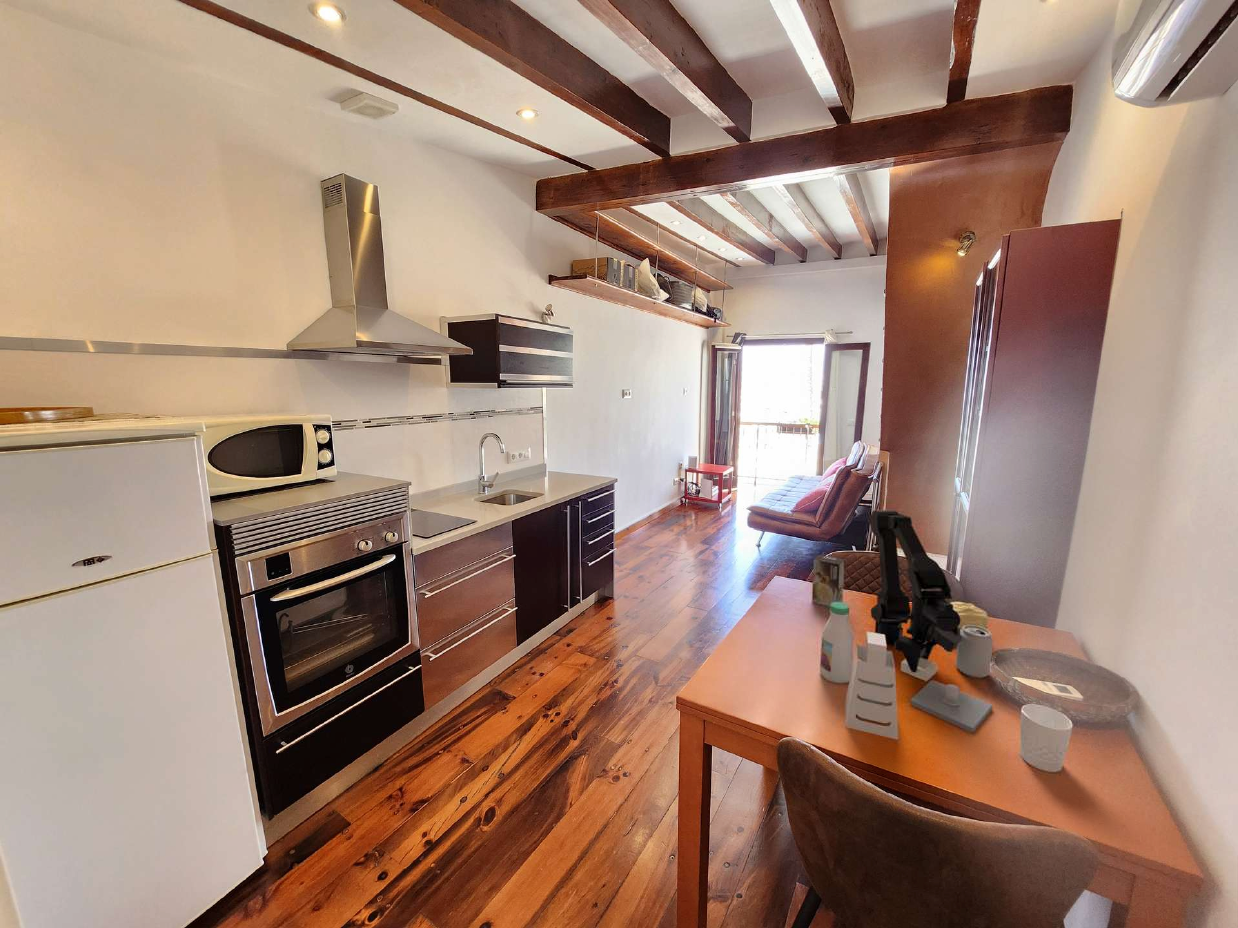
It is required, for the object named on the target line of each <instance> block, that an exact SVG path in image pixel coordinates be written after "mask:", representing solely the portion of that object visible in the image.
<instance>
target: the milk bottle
mask: <svg viewBox="0 0 1238 928" xmlns="http://www.w3.org/2000/svg"><path fill="white" fill-rule="evenodd" d="M829 613H830V615H829V617H828V620H827V622H826V623H825V625H824V627H823V629H822V633H821V634H822V635H821V646H820V648H821V649H820V664H819V672H820V675H821V676H822V677H823V678H824V679H825V680H827V681H828V682H830V683H836V684H846V683H849V682H850V677H851V672H852V667H853V662H854V645H855V644H854V640H855V639H854V632H853V629H852V627H851V624H850V622H849V616H850V606H849V605H848V604H846V603H845V602H843V603H841V602H833V603H831V604H830V607H829Z"/></svg>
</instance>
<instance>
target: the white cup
mask: <svg viewBox="0 0 1238 928" xmlns="http://www.w3.org/2000/svg"><path fill="white" fill-rule="evenodd" d="M1020 712H1021V713H1020V724H1019V725H1020V727H1019V740H1020V742H1019V743H1020V744H1019V755H1020V757H1021V758H1022V759H1023V760H1024V761H1025V762H1026V763H1028V764H1029V765H1031V766H1032V767H1034V768H1036V769H1038V770H1041V771H1045V772H1046V773H1049V772H1050V773H1058V772H1061V771H1062V769H1063V766H1064V761H1065V758H1066V757H1067V752H1068V748H1069V743H1070V738H1071V734H1072V731H1073V722H1072V720H1071V719H1070V718H1069V717H1067V715H1065V714H1063V713H1062V712H1061V711H1059V710H1056V709H1054V708H1052V707H1048V706H1045V705H1041V704H1036V703H1029V704H1025V705H1023V706H1021V711H1020Z"/></svg>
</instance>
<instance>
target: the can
mask: <svg viewBox="0 0 1238 928" xmlns="http://www.w3.org/2000/svg"><path fill="white" fill-rule="evenodd" d="M960 635H961V636H962V637H961V639H962V640H961V641H960V642H959V644H958V645H957V647H956V649H957V650H956V658H955V666H956V668H957V669H958V670H959V671H960V672H961V673H962V674H964V675H967V676H969V677H973V678H977V679H979V678H980V679H983V678H986V677H988V676H989V675H990V671H991V665H990V663H991V664H992V656H993V655H992V654H993V649H994V647H993V646H994V638H993V636H992V632H991V631H989V630H988V628H987V629H985V628H982V627H979V626H974V625H965V626H963V627H962V630H960Z"/></svg>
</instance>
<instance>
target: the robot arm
mask: <svg viewBox="0 0 1238 928" xmlns="http://www.w3.org/2000/svg"><path fill="white" fill-rule="evenodd" d="M912 521H913V520H912V518H911V517H910V516H909V515H906V514H902V513H899V512H898V511H897V510H896V509H895V510H893V509H892V510H891V509H889V510H887V509H886V510H884V509H883V510H880V509H876V510H872V513H870V514H869V516H868V523H869V525H870V529H871V530H870V531H871V532H872V534H873V535H874V536H875V537H876V539H877V541H878V552H879V553H878V554H879V566H880V578H881V590H880V592H879V593H878V595H877V596H876V604H875V605H874V606H873V607H872V608H870V615H871V618H872V619H873V620H874V621H875V624H874V633H878V634H884V635H885V639H886V645H889V646H890V647H891V646H892V647H893V649H894V650H895V651H898V652H900V653H902V655H903V656H904V658H905V659H906V661H907V663H908V665H909V667H910V670H911V671H912V672H914V673H915V672H916V671H917V668H918V664H919V661H920V658H923V659H926V660H929V658H930V656H931V654H932V652H933V649H934V648H935V646H937V645H938V646H940V647H941V648H943V650H944V651H946V652H949V653H951V652H953V651H954V650H955V649H957V647H958V644H959V642H960V641H961V640H962V639H961V637H962V636H961V635H960V628H959V627H958V626H959V624H960V620H961V619H960V616H959V614H958V613H957V612H956V611H955V610H953V605H952V604H951V602H949V601H947V600H950V599H952V594H951V593H952V589H951V587H950V585H949V583H948V580H947V578H946V574H945V573H944V571H943V569H942V567H941V566H940V565H939V564H938V562H937V561H935V560H934V559H933V558H932V557H931V558H930V557H929V555H928V553H927V552H926V550H925V548H924V546H923V544H922V543H921V541H920V538H919V536H918V535H917V532H916V530H915V528H914V527H913V522H912ZM897 541H898V543H899V545H900V548H901V550H902V552H903V554H904V556H905V558H906V561H907V563H908V567H907V569H906V570H907V571H906V573H907V576H908V581H909V583H910V585H911V586H909V590H910V591H911V592H912V598H911V599H912V600H911V606H910V597H909V596H908V595H906V594H905V593H904V592H903V590H902V587H901V578H900V577H901V575H900V567H899V555H898V546H897V545H898V543H897ZM909 620H910V622H909V627H908V628H907V629H906V634H908V635H911V637H909V636H906V635H904V628H903V625H902V624H908V621H909ZM905 659H904V660H905Z"/></svg>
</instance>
